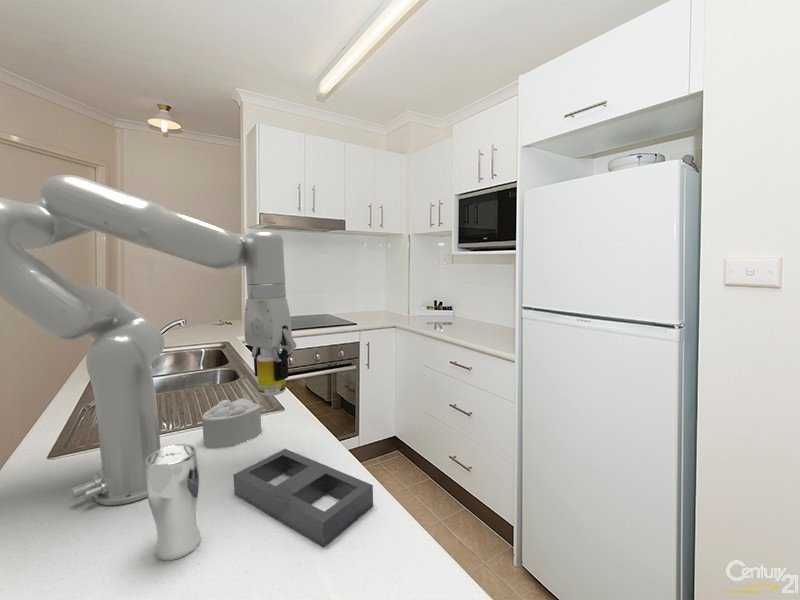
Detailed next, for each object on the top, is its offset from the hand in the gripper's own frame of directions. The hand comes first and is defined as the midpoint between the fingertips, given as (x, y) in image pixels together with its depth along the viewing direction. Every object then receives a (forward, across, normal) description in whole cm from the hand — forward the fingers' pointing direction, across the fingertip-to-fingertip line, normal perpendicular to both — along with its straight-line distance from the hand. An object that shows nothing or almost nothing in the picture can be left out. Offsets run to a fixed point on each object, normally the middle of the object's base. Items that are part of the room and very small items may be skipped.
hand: (271, 376), depth 82 cm
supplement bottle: (+4, 0, 0) cm, 4 cm away
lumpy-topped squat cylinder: (+20, -20, +2) cm, 28 cm away
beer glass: (+20, +7, -24) cm, 32 cm away
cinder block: (+20, +15, -6) cm, 25 cm away
